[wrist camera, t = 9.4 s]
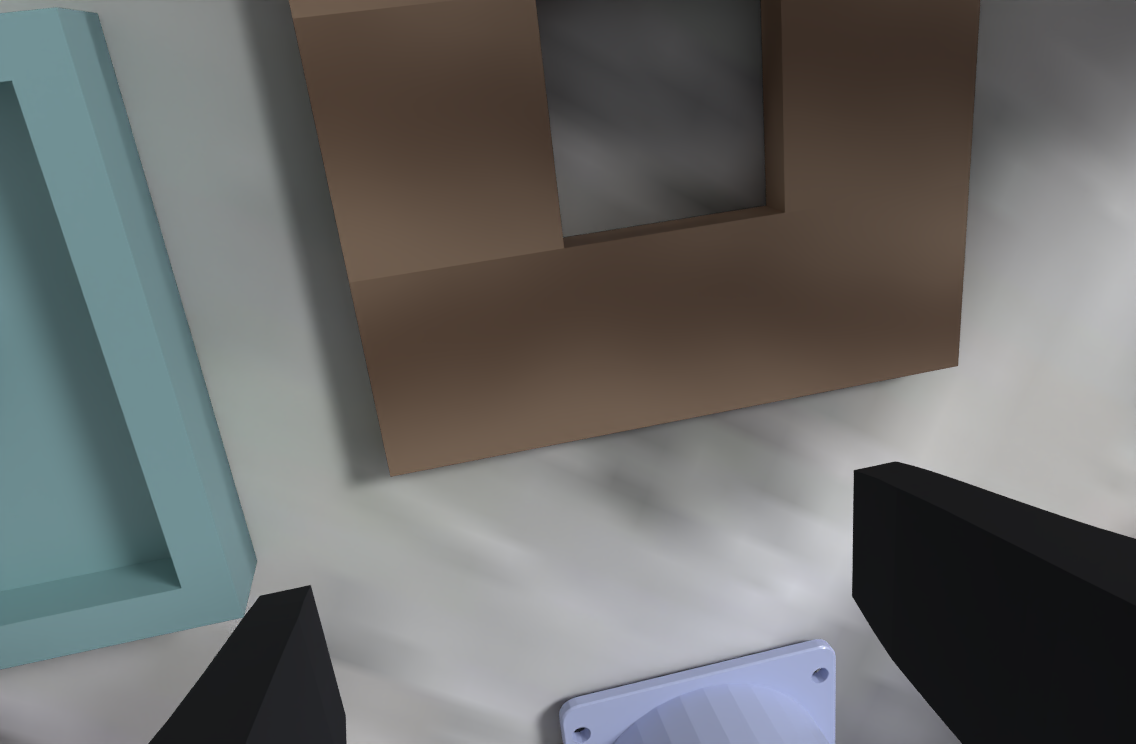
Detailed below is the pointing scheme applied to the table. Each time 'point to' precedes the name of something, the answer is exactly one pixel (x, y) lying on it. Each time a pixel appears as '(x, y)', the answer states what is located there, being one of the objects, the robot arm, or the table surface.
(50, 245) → the teal tray
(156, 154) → the table surface
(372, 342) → the walnut socket
